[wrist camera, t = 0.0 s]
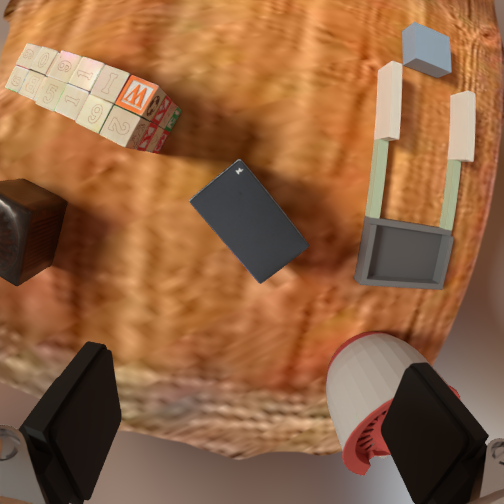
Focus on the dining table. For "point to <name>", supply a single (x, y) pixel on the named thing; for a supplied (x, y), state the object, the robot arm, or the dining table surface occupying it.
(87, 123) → the stack of blocks
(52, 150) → the dining table surface
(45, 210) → the black upright piece
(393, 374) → the citrus juicer
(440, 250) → the two-pronged grey tray
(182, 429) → the dining table surface
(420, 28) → the block
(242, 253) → the small box
